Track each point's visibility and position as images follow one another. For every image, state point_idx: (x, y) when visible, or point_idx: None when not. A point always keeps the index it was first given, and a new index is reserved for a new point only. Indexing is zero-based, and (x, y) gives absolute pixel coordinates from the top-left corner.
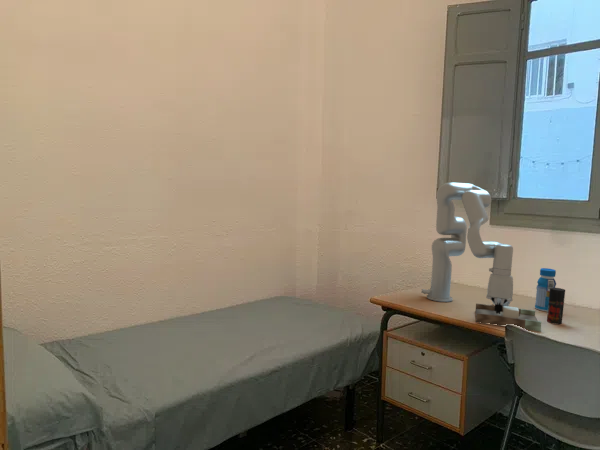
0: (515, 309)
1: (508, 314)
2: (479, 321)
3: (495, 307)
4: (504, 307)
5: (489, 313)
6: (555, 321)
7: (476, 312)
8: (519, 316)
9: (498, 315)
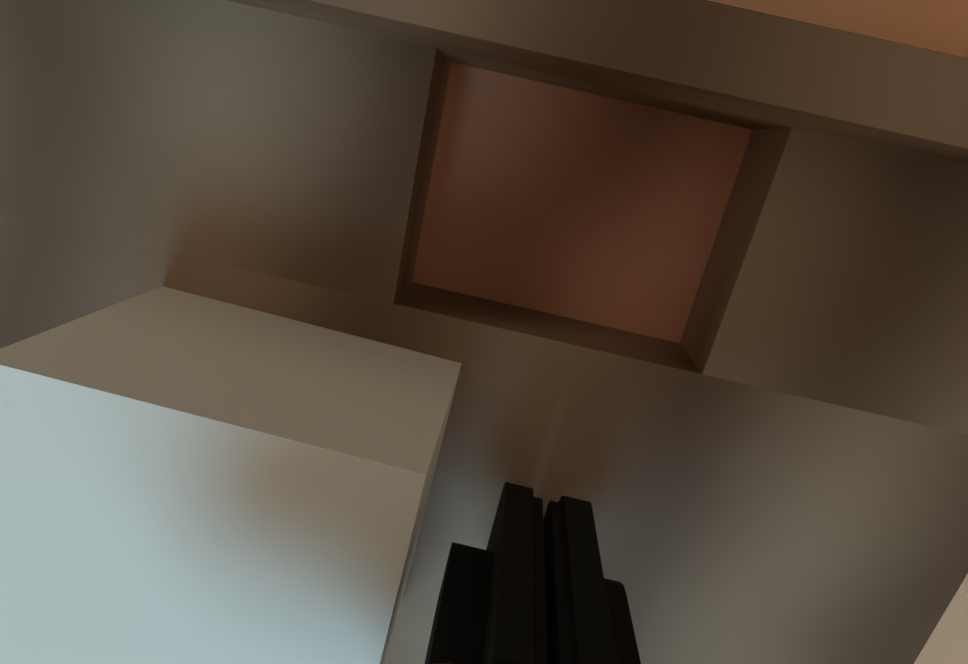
0: (73, 504)
1: (332, 373)
2: None
3: (621, 643)
4: (363, 639)
5: (655, 614)
6: None
7: (927, 628)
8: None
9: None
